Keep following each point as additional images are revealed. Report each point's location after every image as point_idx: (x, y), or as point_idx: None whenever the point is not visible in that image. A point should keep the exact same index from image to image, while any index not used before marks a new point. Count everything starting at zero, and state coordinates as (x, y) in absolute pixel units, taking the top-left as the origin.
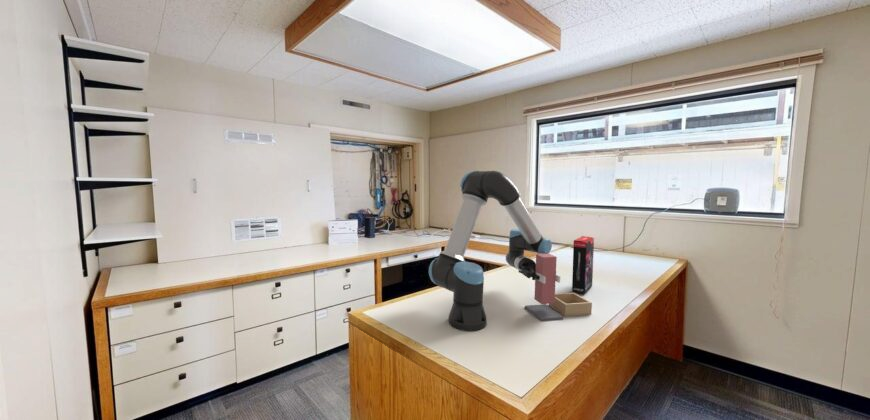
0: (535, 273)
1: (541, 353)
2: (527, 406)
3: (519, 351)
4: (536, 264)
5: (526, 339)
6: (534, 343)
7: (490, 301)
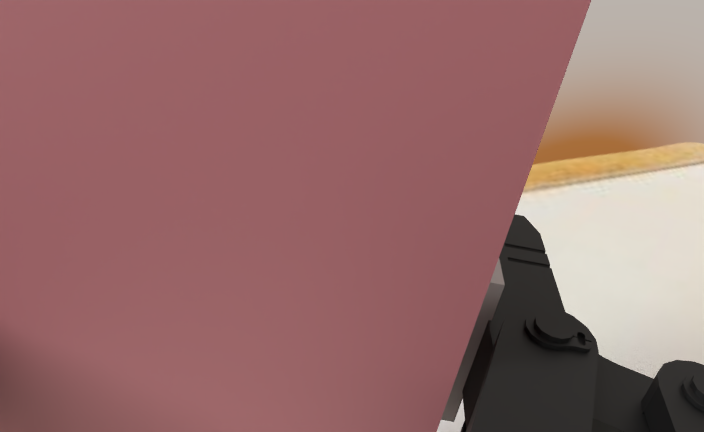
0: (441, 411)
1: (581, 244)
2: (697, 145)
3: (689, 283)
4: (543, 68)
5: (626, 343)
6: (588, 302)
7: None
